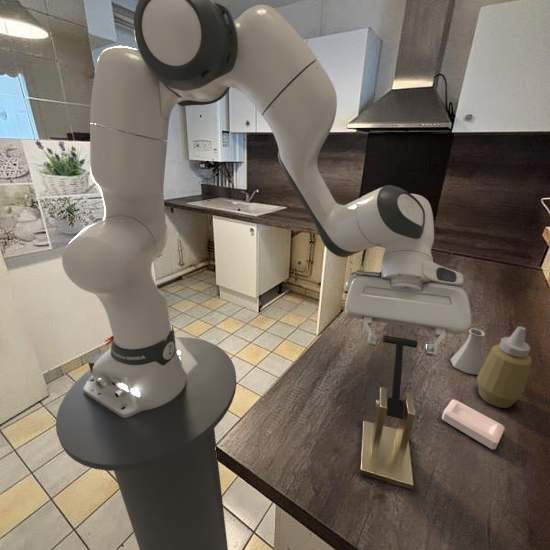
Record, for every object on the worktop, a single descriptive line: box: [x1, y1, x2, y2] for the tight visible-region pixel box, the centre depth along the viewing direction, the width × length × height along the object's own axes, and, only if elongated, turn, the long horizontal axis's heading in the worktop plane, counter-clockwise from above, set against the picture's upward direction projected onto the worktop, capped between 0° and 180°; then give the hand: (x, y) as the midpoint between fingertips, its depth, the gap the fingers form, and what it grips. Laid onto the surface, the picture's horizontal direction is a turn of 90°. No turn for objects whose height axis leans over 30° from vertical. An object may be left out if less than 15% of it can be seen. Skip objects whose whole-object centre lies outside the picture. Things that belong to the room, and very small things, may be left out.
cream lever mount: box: [359, 386, 417, 490], centre depth 49 cm, size 10×8×13 cm
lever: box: [382, 335, 418, 420], centre depth 49 cm, size 13×6×2 cm
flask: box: [449, 327, 486, 376], centre depth 71 cm, size 7×7×10 cm
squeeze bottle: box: [476, 325, 533, 409], centre depth 60 cm, size 8×8×18 cm
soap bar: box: [441, 398, 506, 450], centre depth 56 cm, size 5×9×2 cm, turn 42°
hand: (400, 350), depth 49 cm, fingers open, 8 cm apart
